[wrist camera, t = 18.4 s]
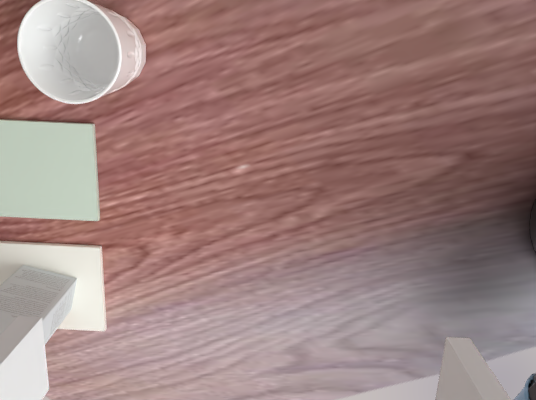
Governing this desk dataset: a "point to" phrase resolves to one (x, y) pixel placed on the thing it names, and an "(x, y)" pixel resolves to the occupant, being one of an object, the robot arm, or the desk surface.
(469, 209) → the desk surface
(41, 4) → the white cup
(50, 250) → the taller pad
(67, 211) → the shorter pad
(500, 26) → the desk surface
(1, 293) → the skincare box
